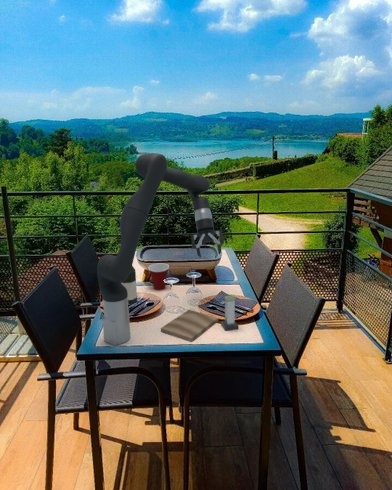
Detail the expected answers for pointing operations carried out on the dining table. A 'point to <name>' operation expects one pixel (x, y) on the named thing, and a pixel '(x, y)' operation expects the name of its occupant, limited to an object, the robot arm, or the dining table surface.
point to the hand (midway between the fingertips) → (209, 255)
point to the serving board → (189, 325)
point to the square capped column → (229, 314)
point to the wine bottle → (131, 286)
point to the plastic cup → (158, 275)
